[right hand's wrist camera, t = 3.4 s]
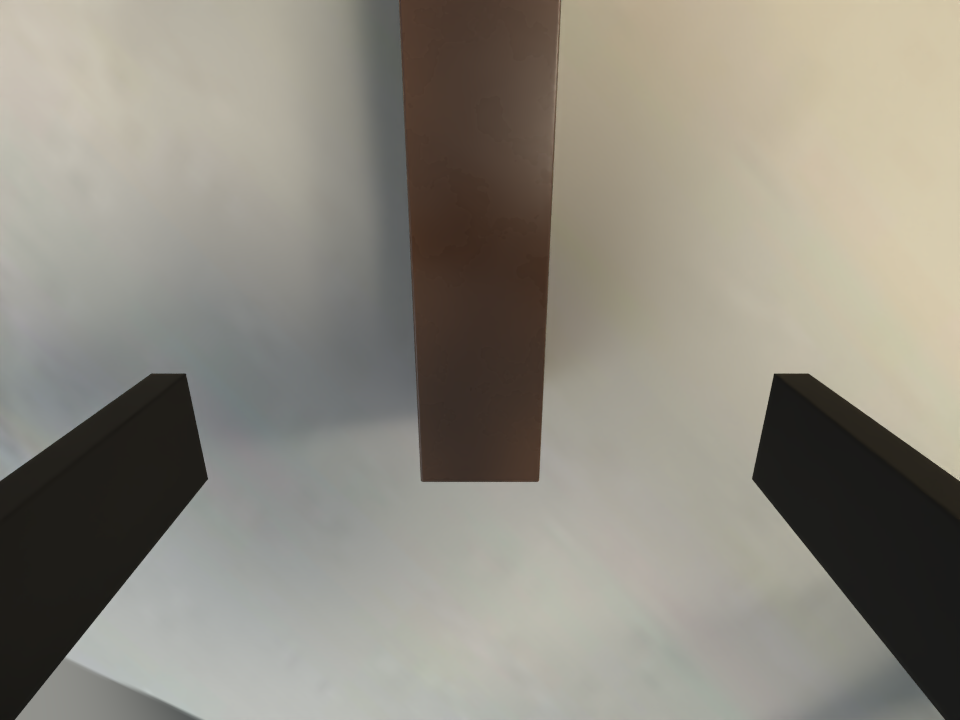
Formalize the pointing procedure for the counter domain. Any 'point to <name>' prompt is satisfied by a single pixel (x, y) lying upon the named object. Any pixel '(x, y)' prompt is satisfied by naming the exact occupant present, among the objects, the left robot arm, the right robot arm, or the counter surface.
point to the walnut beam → (479, 228)
